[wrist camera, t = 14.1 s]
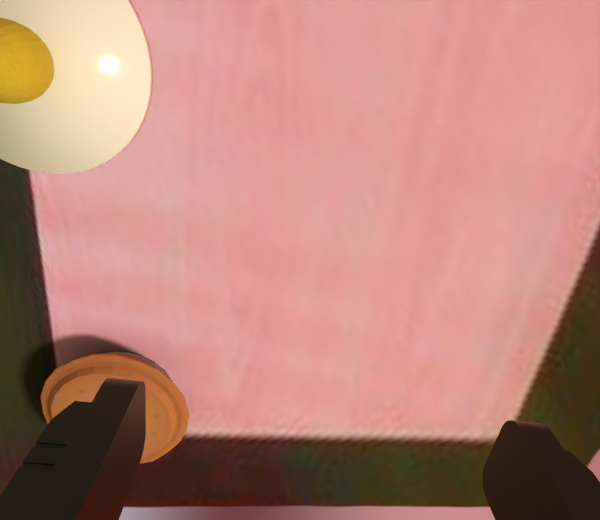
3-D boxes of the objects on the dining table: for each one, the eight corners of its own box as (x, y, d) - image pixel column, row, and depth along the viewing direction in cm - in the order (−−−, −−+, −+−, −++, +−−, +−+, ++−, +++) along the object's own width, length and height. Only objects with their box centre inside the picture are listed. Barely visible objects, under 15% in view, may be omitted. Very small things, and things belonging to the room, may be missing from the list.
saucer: (-104, -97, 31) (-118, -103, 30) (153, -53, 32) (148, -57, 31) (-54, 155, 39) (-64, 158, 38) (152, 183, 40) (148, 186, 39)
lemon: (-15, 35, 34) (-100, 30, 27) (48, 10, 33) (-21, -2, 26) (25, 107, 36) (-44, 121, 29) (85, 85, 35) (31, 94, 28)
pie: (43, 414, 52) (19, 449, 47) (76, 313, 46) (52, 341, 42) (168, 454, 55) (157, 491, 50) (214, 365, 49) (206, 396, 45)
